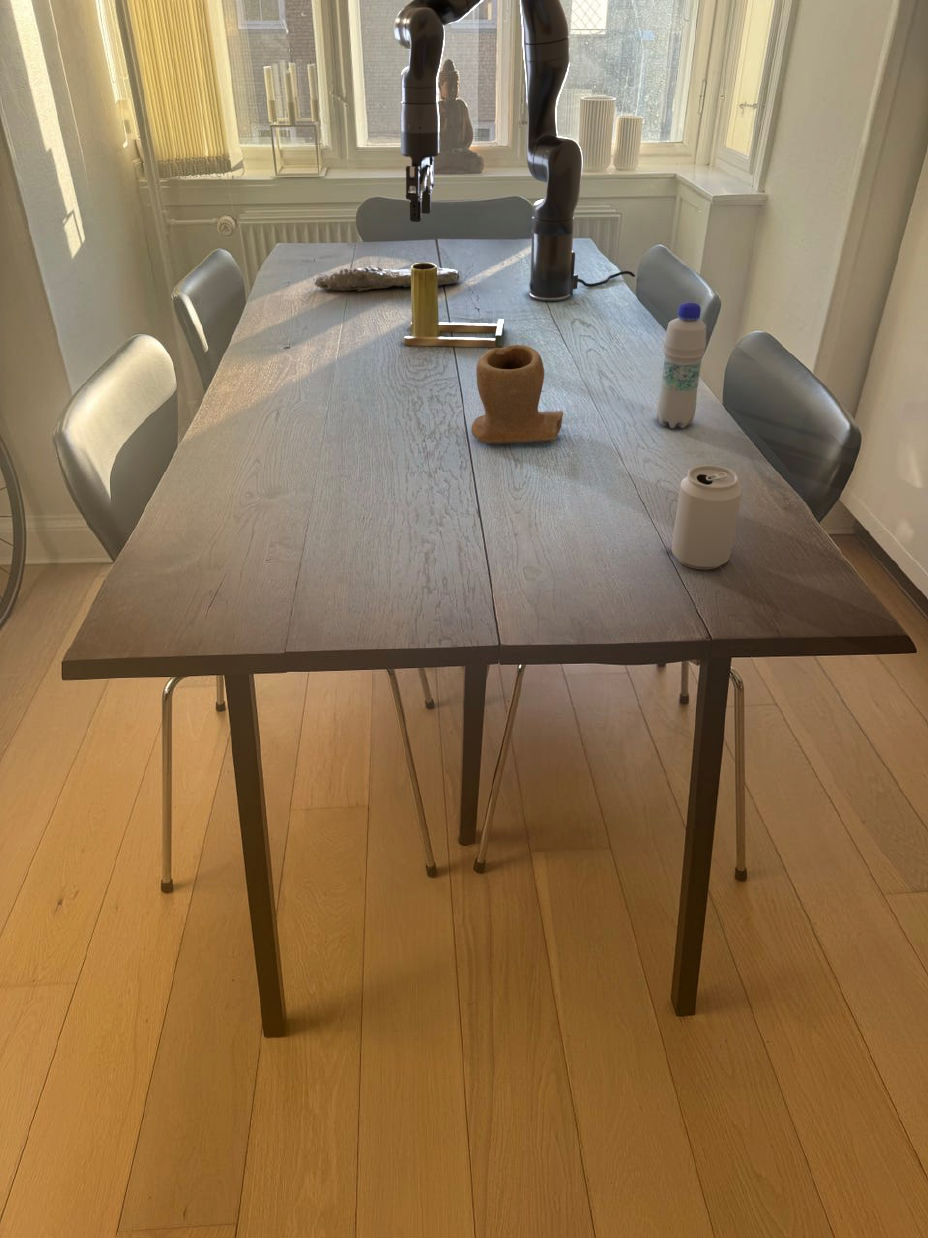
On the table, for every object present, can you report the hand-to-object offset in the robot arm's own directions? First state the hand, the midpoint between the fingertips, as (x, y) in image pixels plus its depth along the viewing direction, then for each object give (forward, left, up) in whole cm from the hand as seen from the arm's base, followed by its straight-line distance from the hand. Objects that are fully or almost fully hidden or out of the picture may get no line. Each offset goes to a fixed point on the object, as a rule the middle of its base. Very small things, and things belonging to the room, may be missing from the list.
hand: (420, 217), depth 194 cm
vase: (+6, +10, -21) cm, 24 cm away
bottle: (-1, +72, -21) cm, 75 cm away
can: (+29, +104, -21) cm, 110 cm away
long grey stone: (-8, -26, -21) cm, 35 cm away
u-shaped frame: (+2, +14, -21) cm, 25 cm away
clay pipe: (+24, +61, -21) cm, 68 cm away
